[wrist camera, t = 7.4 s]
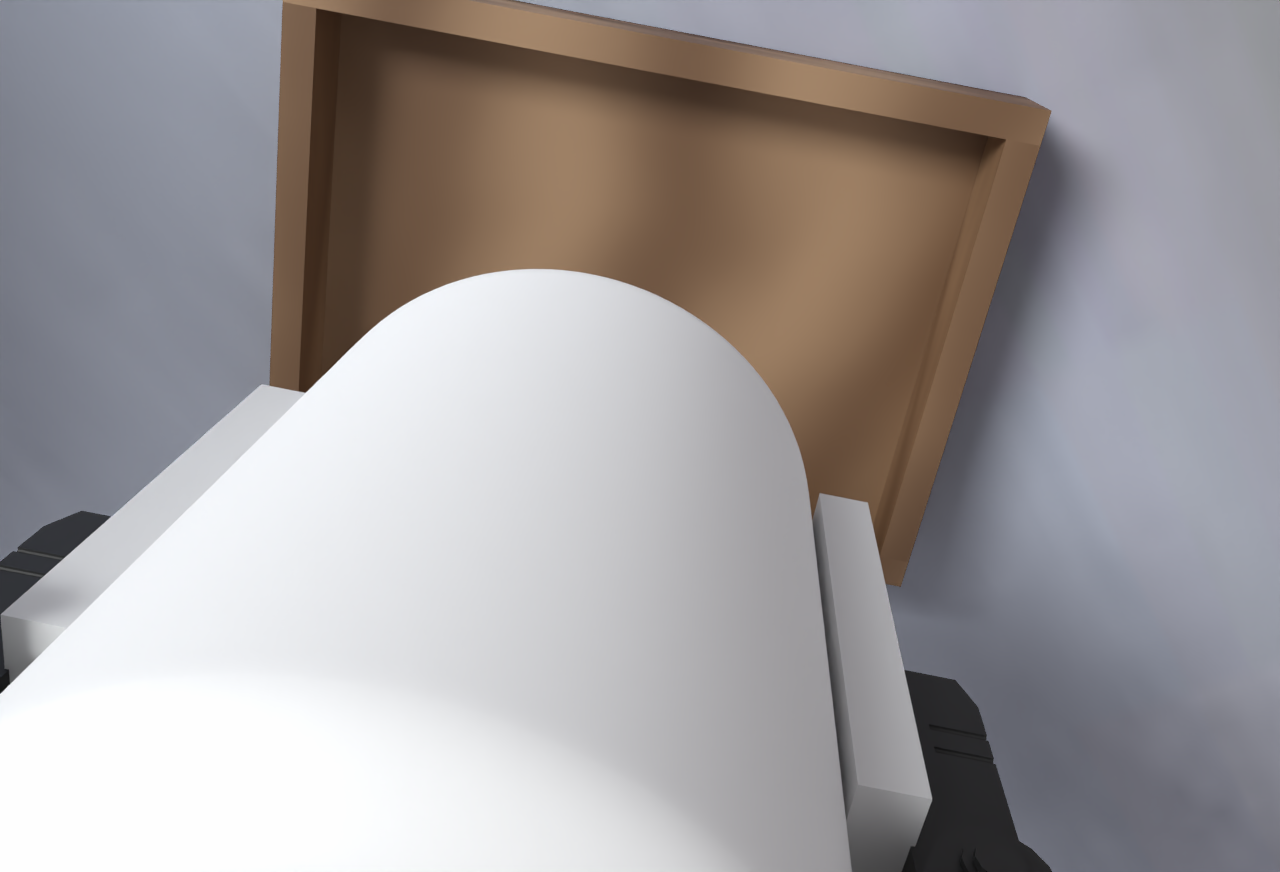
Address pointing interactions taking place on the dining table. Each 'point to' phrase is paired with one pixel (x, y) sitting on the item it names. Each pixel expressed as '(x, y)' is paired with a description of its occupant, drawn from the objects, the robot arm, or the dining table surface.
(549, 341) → the beverage can
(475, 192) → the walnut tray
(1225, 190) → the dining table surface
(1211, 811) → the dining table surface
